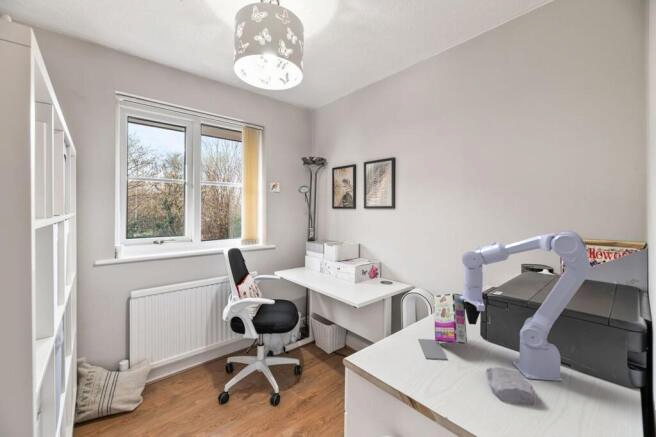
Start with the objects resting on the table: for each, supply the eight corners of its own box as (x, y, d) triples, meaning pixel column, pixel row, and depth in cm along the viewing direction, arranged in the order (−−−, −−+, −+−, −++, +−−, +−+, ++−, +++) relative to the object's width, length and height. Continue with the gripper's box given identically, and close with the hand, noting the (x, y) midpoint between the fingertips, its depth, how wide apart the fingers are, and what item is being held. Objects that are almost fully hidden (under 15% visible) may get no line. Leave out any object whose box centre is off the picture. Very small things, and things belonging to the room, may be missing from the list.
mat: (437, 340, 104) (437, 339, 104) (447, 360, 91) (447, 359, 91) (418, 339, 105) (418, 338, 105) (425, 358, 92) (425, 357, 92)
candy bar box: (468, 344, 93) (464, 295, 99) (456, 343, 92) (453, 292, 98) (445, 342, 103) (443, 297, 109) (434, 341, 102) (432, 295, 108)
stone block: (498, 409, 72) (541, 406, 70) (495, 391, 72) (537, 388, 70) (482, 382, 83) (518, 379, 81) (479, 366, 84) (515, 363, 82)
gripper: (454, 278, 103) (453, 314, 103) (468, 291, 88) (467, 332, 89) (474, 279, 102) (473, 315, 102) (492, 292, 87) (491, 333, 88)
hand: (472, 323), depth 96 cm, fingers closed
